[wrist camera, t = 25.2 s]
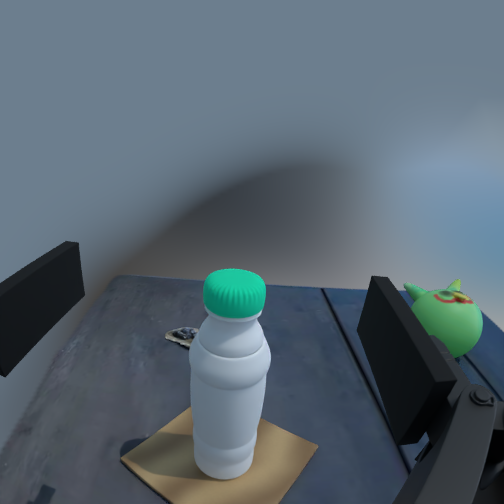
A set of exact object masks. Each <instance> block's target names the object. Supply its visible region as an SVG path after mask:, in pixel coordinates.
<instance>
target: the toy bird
mask: <svg viewBox="0 0 504 504" xmlns="http://www.w3.org/2000/svg"><path fill="white" fill-rule="evenodd" d="M460 285H461V281H460V280H459V279H457V280H455V281H454V282H453V283H452V284H451V285H450V286H449V287H448V288H447V289H442V290H434V291H431V292H428V291H426V290H423V289H421V288H419V287H417V286H415V285H413V284H410V283H405V284H404V288H405V289H406V291H407V292H408V293H409V294H410V296H411V297H412V298H413V300H414V301H415V303H414V304H413V305H412V307H411V310H412V311H413V313H414V314H415V316H416V317H417V318H418V320H419V321H420V323H421V324H422V326H423V327H424V329H425V330H426V332H427V333H428V335H435V336H436V337H437V338H438V339H440V340H441V341H442V342H443V343H444V344H445V345H446V347H447V348H448V350H449V351H450V354H452V355H453V357H454V358H457V357H460V356H462V355H464V354H465V353H467V352H468V351H470V350H471V349H472V348H473V347H474V346H475V344H476V343H477V341H478V340H479V338H480V335H481V332H482V326H483V321H482V315H481V312H480V309H479V308H478V306H477V304H476V303H475V302H474V301H473V300H472V299H471V298H470V297H468V296H467V295H465V294H463V293H462V292H460V291H459V290H460Z"/></svg>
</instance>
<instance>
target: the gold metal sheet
mask: <svg viewBox="0 0 504 504" xmlns="http://www.w3.org/2000/svg"><path fill="white" fill-rule="evenodd" d="M193 426H194V424H193V418H192V410H191V406H190V407H189V408H188V409H187V410H185V411H184V412H183V413H181V414H180V415H179V416H178V417H176V418H175V419H174V420H172V421H171V422H170V423H168V424H167V425H166V426H164V427H163V428H162V429H160V430H159V431H157V432H156V433H155V434H153V435H152V436H151V437H149V438H148V439H147V440H145V441H144V442H142V443H141V444H140V445H138V446H137V447H135V448H134V449H132V450H131V451H130V452H128V453H127V454H125V455H124V456H122V457H121V458H120V459H121V461H122V462H123V463H124V464H125V465H126V466H127V467H128V468H129V469H130V470H131V471H132V472H133V473H135V474H136V475H137V476H138V477H139V478H140V479H141V480H142V481H144V482H145V483H146V484H147V485H148V486H150V487H151V488H152V489H153V490H154V491H156V492H157V493H158V494H159V495H161V496H162V497H163V498H164V499H166V500H167V501H168V502H170V503H171V504H279V502H280V501H281V500H282V498H283V497H284V496H285V494H286V493H287V492H288V490H289V489H290V488H291V486H292V485H293V484H294V482H295V481H296V479H297V478H298V477H299V475H300V474H301V472H302V471H303V469H304V468H305V467H306V465H307V464H308V462H309V461H310V459H311V458H312V456H313V455H314V453H315V452H316V450H317V448H318V445H316V444H314V443H311V442H309V441H307V440H305V439H303V438H300V437H298V436H296V435H294V434H292V433H290V432H288V431H286V430H284V429H281V428H279V427H277V426H275V425H273V424H271V423H269V422H267V421H266V420H264V419H262V418H260V420H259V424H258V427H257V438H256V443H255V446H254V454H253V460H252V463H251V466H250V467H249V469H248V470H247V471H246V472H245V473H244V474H242V475H241V476H239V477H236V478H233V479H217V478H213V477H210V476H208V475H207V474H205V473H204V472H202V471H201V470H200V469H199V467H198V466H197V464H196V462H195V458H194V440H193Z"/></svg>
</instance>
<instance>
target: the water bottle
mask: <svg viewBox="0 0 504 504" xmlns="http://www.w3.org/2000/svg"><path fill="white" fill-rule="evenodd" d="M265 296H266V287H265V283H264V281H263V280H262V278H260V277H259V276H258V275H256V274H254V273H253V272H249V271H245V270H241V269H232V268H231V269H222V270H218V271H215V272H213V273H211V274H209V276H208V277H207V278H206V280H205V283H204V290H203V299H204V304H205V310H206V311H207V313H208V314H209V316H208V317H207V318H206V319H205V320H204V322H203V323H202V325H201V327H200V330H199V331H198V333H197V334H196V336H195V337H194V339H193V341H192V343H191V346H190V350H189V362H190V366H191V382H190V392H191V410H192V418H193V424H194V426H193V440H194V458H195V462H196V464H197V466H198V467H199V469H200V470H201V471H202V472H204V473H205V474H207V475H208V476H210V477H213V478H217V479H233V478H236V477H239V476H241V475H242V474H244V473H245V472H246V471H247V470H248V469H249V467H250V466H251V463H252V460H253V454H254V446H255V443H256V438H257V427H258V424H259V420H260V416H261V411H262V406H263V400H264V394H265V385H266V373H267V371H268V369H269V366H270V361H271V354H270V349H269V346H268V343H267V341H266V339H265V337H264V335H263V330H262V328H261V326H260V324H259V323H258V321H257V317H259V316H260V315H261V312H262V309H263V306H264V302H265Z"/></svg>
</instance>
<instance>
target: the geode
mask: <svg viewBox="0 0 504 504" xmlns="http://www.w3.org/2000/svg"><path fill="white" fill-rule="evenodd" d="M199 330H200V329H195V328H191V327H182V328H178V329H177V330H175V329H174V330H172V331H168V332H167V333H166V334H165V335H166V336H165V337H166V339H169V340H171V341H178V342H180V343H181V344H183V345H185V346H186V347H189V348H190V346H191V343H192V341H193V339H194V337H195V336H196V334H197V333H198V331H199Z"/></svg>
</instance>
